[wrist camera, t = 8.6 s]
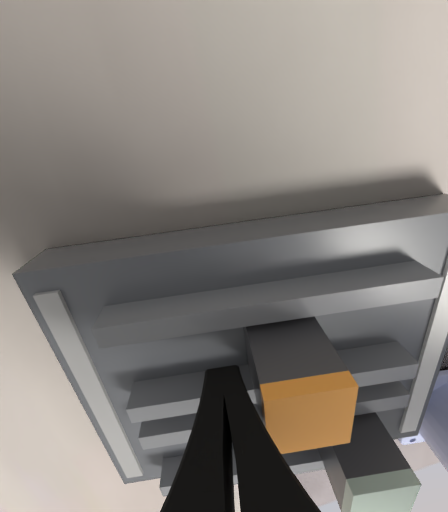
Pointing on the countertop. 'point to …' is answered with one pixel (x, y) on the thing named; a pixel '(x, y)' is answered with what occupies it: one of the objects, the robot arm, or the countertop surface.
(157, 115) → the countertop surface
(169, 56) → the countertop surface
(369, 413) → the block
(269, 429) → the breaker toggle
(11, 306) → the countertop surface
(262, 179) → the countertop surface
